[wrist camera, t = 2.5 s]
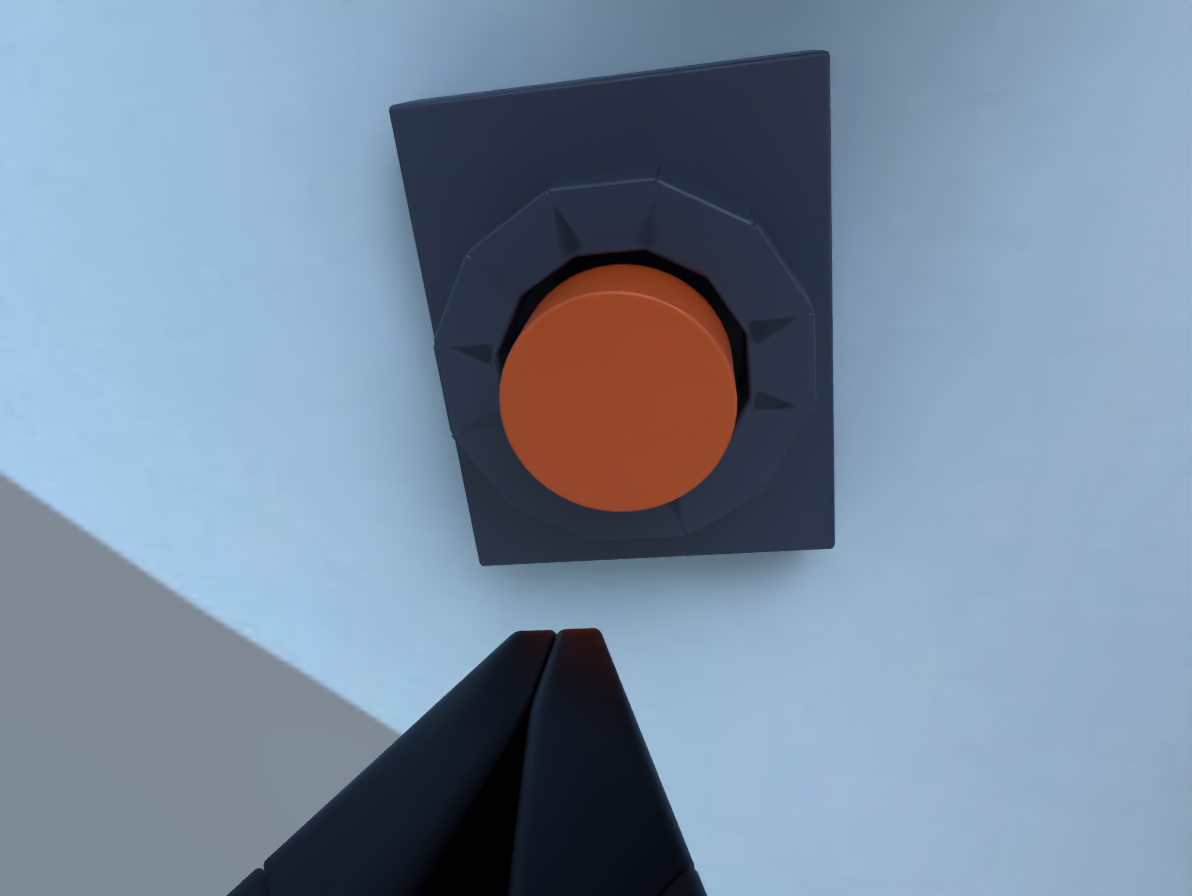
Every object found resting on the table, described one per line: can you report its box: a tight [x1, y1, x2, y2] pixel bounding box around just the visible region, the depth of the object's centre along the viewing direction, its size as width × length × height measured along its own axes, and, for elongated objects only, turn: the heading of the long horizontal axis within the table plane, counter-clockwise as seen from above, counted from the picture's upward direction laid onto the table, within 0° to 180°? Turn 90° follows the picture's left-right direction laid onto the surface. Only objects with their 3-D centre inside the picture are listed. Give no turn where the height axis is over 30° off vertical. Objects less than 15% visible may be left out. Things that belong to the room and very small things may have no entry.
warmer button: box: [499, 264, 737, 512], centre depth 16 cm, size 4×4×2 cm
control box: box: [389, 50, 835, 566], centre depth 18 cm, size 10×8×4 cm
